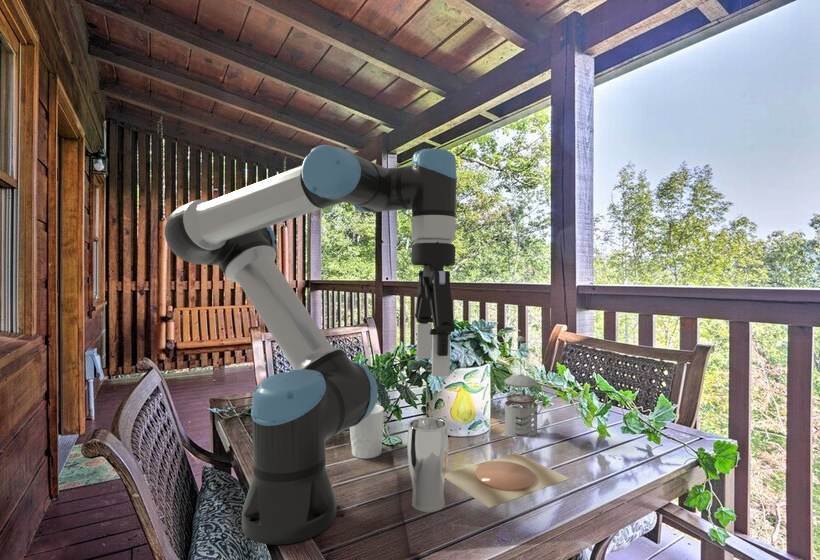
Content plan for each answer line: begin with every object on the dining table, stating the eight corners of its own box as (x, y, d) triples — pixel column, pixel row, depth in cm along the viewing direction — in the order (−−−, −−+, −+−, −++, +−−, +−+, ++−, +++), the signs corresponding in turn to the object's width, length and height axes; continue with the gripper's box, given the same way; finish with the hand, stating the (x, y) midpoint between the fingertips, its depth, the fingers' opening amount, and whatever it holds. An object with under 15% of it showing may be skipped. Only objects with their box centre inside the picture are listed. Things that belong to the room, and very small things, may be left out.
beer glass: (414, 526, 70) (413, 432, 69) (403, 504, 76) (402, 418, 76) (454, 519, 71) (454, 428, 71) (440, 498, 78) (440, 415, 78)
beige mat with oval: (488, 516, 72) (488, 507, 72) (440, 482, 84) (440, 474, 84) (570, 486, 82) (569, 478, 82) (516, 459, 94) (516, 452, 94)
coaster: (484, 492, 77) (484, 489, 77) (469, 465, 88) (469, 462, 88) (544, 488, 78) (544, 485, 78) (521, 462, 89) (521, 459, 89)
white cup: (342, 456, 97) (341, 411, 97) (361, 443, 104) (361, 402, 104) (371, 462, 93) (371, 416, 93) (390, 449, 100) (390, 406, 100)
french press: (492, 433, 110) (492, 335, 109) (527, 426, 115) (527, 332, 115) (519, 447, 101) (518, 340, 101) (555, 438, 106) (555, 336, 106)
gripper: (477, 238, 63) (474, 384, 63) (438, 247, 87) (437, 352, 88) (426, 236, 61) (424, 385, 62) (401, 246, 86) (400, 352, 87)
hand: (431, 366), depth 75 cm, fingers open, 13 cm apart
